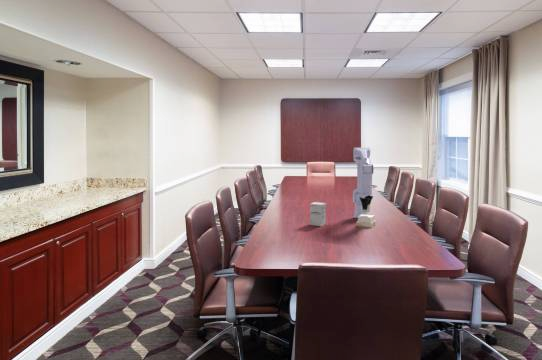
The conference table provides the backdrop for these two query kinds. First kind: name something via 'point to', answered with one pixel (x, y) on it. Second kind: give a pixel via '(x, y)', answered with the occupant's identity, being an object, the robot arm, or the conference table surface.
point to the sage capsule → (367, 209)
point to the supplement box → (317, 214)
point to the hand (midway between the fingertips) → (366, 208)
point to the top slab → (366, 218)
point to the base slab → (366, 224)
